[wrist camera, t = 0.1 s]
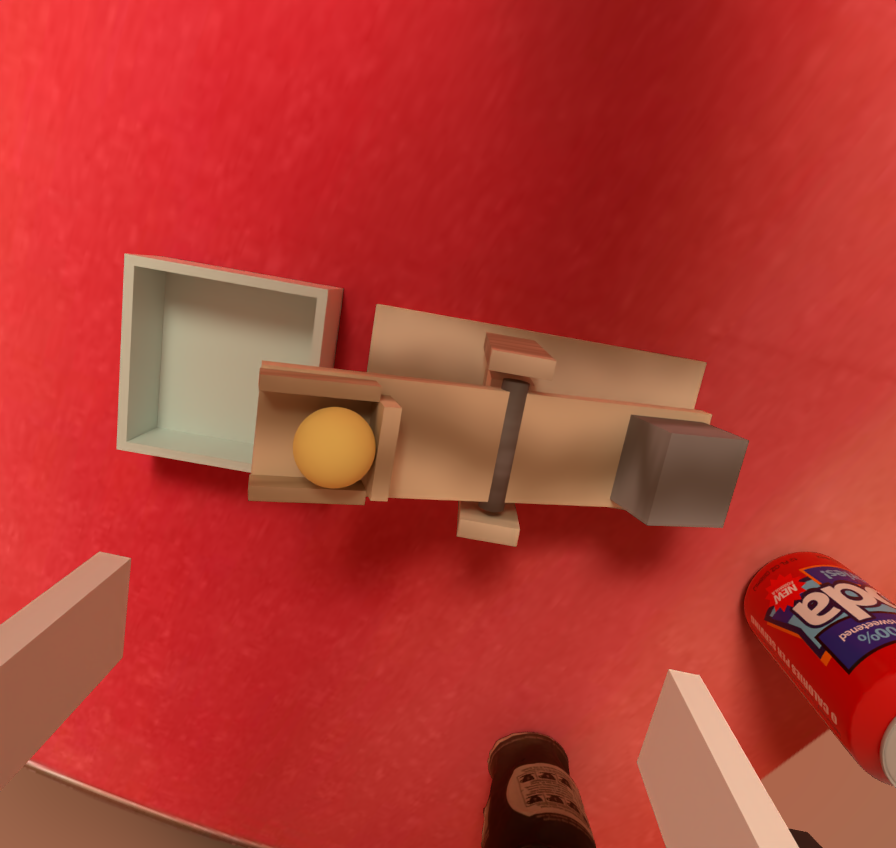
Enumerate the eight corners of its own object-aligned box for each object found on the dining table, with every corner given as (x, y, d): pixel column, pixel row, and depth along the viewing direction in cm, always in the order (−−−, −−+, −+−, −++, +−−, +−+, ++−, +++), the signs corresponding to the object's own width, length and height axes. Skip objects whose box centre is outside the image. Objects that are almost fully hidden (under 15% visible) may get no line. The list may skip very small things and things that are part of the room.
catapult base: (378, 303, 40) (344, 313, 29) (702, 361, 40) (788, 391, 29) (356, 459, 43) (317, 521, 32) (660, 512, 43) (725, 592, 32)
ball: (305, 393, 28) (289, 411, 24) (383, 405, 28) (378, 424, 25) (297, 466, 29) (280, 494, 25) (372, 477, 29) (366, 506, 25)
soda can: (731, 641, 45) (857, 814, 30) (744, 544, 43) (884, 679, 29) (838, 643, 45) (1016, 820, 30) (856, 546, 43) (1054, 684, 28)
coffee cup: (502, 699, 47) (514, 853, 34) (599, 736, 47) (646, 903, 35) (458, 783, 49) (455, 959, 36) (551, 818, 49) (579, 1004, 37)
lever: (260, 348, 27) (263, 368, 23) (700, 401, 36) (762, 423, 32) (246, 491, 29) (246, 535, 25) (670, 509, 37) (724, 544, 33)
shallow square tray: (162, 256, 40) (124, 253, 36) (343, 288, 40) (328, 289, 36) (152, 431, 43) (116, 449, 38) (321, 461, 43) (305, 482, 38)
